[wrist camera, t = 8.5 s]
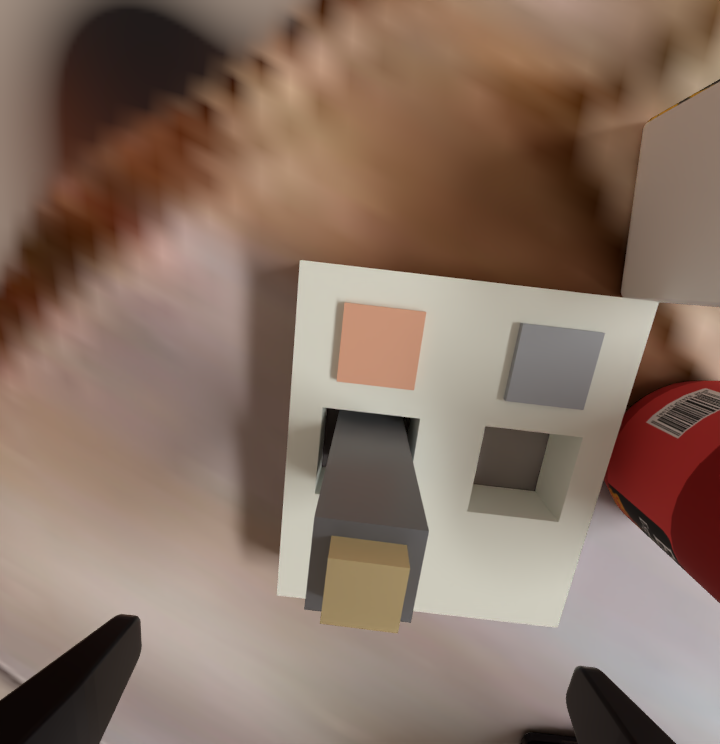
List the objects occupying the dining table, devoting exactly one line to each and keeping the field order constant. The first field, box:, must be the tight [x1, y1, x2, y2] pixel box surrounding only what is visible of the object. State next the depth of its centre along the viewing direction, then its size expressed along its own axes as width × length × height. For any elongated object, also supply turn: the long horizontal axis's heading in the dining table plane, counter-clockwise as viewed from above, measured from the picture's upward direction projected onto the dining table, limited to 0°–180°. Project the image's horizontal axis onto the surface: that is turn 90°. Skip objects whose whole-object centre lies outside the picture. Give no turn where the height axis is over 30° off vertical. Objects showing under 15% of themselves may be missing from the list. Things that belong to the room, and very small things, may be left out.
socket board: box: [277, 260, 659, 628], centre depth 17 cm, size 16×14×3 cm
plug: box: [304, 409, 429, 633], centre depth 14 cm, size 3×3×10 cm
